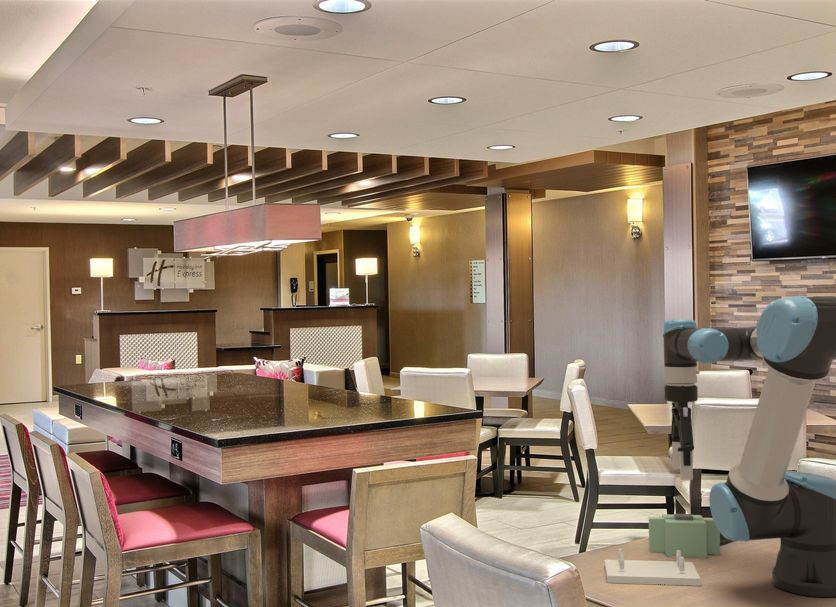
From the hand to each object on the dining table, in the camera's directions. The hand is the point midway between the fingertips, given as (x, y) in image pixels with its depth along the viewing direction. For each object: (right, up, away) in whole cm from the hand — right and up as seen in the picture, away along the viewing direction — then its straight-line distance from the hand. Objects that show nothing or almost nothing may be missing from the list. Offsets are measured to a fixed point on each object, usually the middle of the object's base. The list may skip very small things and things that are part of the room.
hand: (682, 474), depth 209 cm
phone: (+10, -19, +9) cm, 23 cm away
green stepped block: (0, -19, 0) cm, 19 cm away
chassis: (-12, -19, -18) cm, 28 cm away
